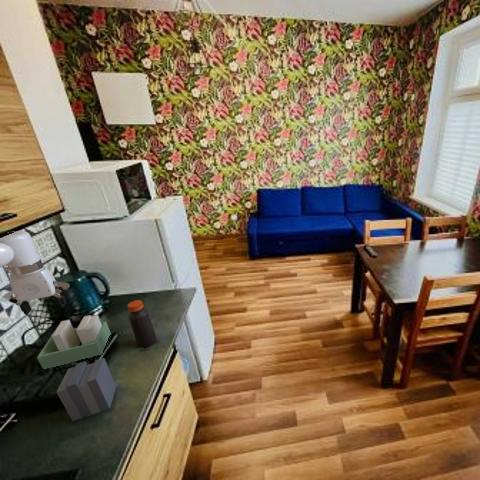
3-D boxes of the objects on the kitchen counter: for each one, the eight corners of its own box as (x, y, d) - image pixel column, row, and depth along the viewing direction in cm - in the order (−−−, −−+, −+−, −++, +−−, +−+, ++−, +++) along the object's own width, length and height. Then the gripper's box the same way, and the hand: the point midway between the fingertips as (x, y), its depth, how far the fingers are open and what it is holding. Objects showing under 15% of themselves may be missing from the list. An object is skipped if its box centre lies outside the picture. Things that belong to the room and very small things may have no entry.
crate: (45, 373, 99) (36, 357, 96) (60, 347, 110) (53, 333, 107) (102, 357, 105) (96, 342, 102) (111, 335, 117) (106, 321, 114)
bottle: (143, 337, 115) (130, 299, 108) (159, 336, 116) (148, 298, 108) (134, 349, 109) (120, 309, 101) (152, 348, 110) (139, 308, 102)
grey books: (72, 421, 82) (54, 389, 77) (82, 396, 90) (67, 366, 84) (109, 409, 86) (95, 377, 80) (116, 386, 93) (103, 356, 88)
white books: (87, 356, 105) (75, 330, 100) (94, 341, 113) (83, 316, 108) (101, 352, 107) (90, 327, 102) (107, 338, 114) (97, 313, 109)
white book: (64, 362, 102) (51, 336, 97) (73, 346, 110) (61, 321, 105) (72, 360, 103) (59, 334, 98) (80, 344, 111) (69, 319, 106)
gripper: (-16, 277, 84) (7, 321, 90) (55, 267, 90) (72, 309, 97) (-1, 267, 90) (20, 309, 97) (64, 258, 97) (79, 298, 103)
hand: (46, 309), depth 97 cm, fingers open, 9 cm apart
